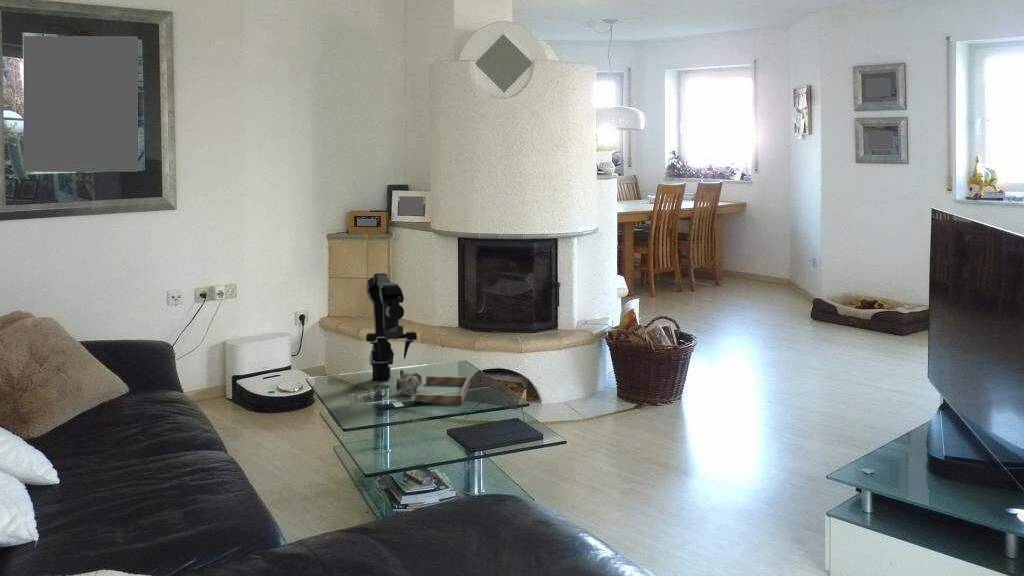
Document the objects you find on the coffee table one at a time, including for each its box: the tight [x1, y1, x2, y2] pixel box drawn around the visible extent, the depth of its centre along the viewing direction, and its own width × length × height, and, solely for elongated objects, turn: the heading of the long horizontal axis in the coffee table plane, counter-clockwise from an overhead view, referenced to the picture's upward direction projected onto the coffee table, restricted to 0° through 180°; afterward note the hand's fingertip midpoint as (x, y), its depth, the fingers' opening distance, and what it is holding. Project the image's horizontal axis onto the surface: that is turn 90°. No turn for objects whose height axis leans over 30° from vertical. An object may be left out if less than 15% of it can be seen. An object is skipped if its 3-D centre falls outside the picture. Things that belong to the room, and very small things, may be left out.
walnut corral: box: [414, 375, 471, 405], centre depth 350 cm, size 17×28×3 cm, turn 177°
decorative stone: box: [395, 369, 423, 398], centre depth 350 cm, size 16×9×10 cm, turn 175°
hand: (392, 359), depth 348 cm, fingers open, 9 cm apart
